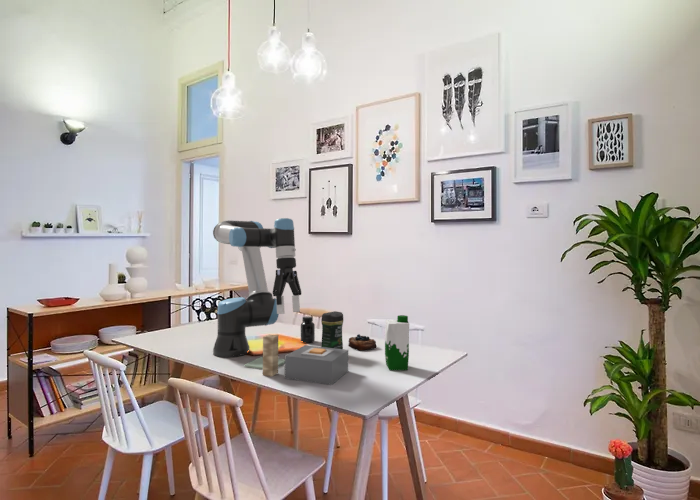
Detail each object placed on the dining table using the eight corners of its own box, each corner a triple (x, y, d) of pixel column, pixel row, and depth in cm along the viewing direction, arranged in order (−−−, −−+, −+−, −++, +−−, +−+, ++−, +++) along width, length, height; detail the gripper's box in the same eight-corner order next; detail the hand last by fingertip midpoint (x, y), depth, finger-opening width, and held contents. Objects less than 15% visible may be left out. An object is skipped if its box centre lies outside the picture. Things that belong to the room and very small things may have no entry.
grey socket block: (284, 378, 144) (284, 354, 144) (305, 365, 159) (305, 344, 159) (331, 384, 138) (331, 360, 137) (348, 371, 153) (348, 348, 153)
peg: (262, 375, 147) (263, 336, 147) (268, 372, 151) (268, 334, 150) (272, 376, 146) (272, 337, 145) (278, 373, 149) (278, 335, 149)
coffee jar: (331, 359, 168) (332, 314, 168) (317, 355, 173) (318, 312, 173) (346, 354, 176) (346, 311, 175) (332, 351, 181) (332, 309, 180)
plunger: (309, 364, 147) (309, 350, 147) (314, 361, 151) (314, 347, 151) (320, 366, 145) (320, 352, 145) (325, 362, 150) (325, 349, 149)
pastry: (364, 343, 196) (364, 331, 196) (379, 349, 186) (379, 336, 186) (345, 346, 190) (345, 334, 190) (359, 352, 180) (359, 339, 180)
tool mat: (244, 366, 157) (244, 364, 157) (261, 358, 168) (261, 356, 168) (271, 370, 153) (271, 368, 153) (287, 361, 164) (287, 359, 164)
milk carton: (410, 370, 154) (411, 318, 153) (387, 371, 153) (387, 318, 152) (405, 364, 162) (406, 314, 162) (383, 364, 161) (383, 314, 161)
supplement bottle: (316, 340, 199) (317, 316, 199) (311, 344, 193) (311, 318, 193) (304, 339, 202) (304, 315, 201) (298, 342, 195) (298, 317, 195)
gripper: (279, 254, 146) (283, 314, 143) (307, 259, 169) (310, 310, 167) (261, 256, 148) (264, 315, 145) (291, 261, 171) (294, 311, 169)
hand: (288, 312), depth 156 cm, fingers open, 13 cm apart
